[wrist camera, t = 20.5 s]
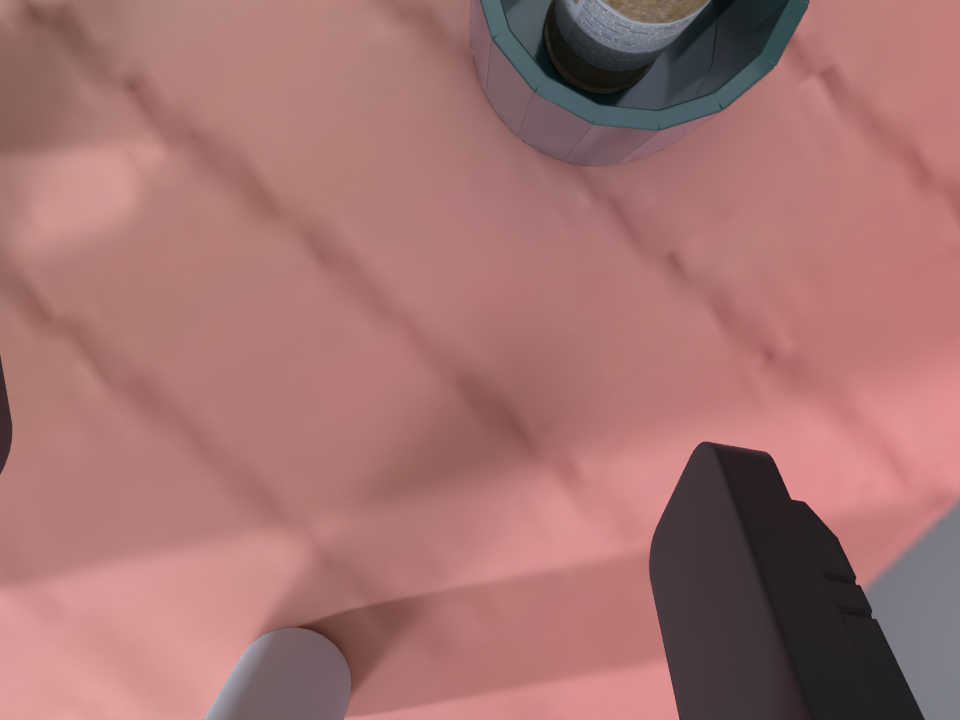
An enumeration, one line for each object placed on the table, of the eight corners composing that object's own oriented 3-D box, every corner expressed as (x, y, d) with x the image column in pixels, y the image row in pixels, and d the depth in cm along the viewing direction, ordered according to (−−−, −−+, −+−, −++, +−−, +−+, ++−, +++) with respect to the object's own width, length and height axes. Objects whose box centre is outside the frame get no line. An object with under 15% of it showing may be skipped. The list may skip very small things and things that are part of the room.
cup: (419, 19, 30) (402, -73, 22) (618, -153, 30) (673, -311, 22) (579, 218, 31) (618, 198, 23) (775, 54, 30) (883, -24, 23)
